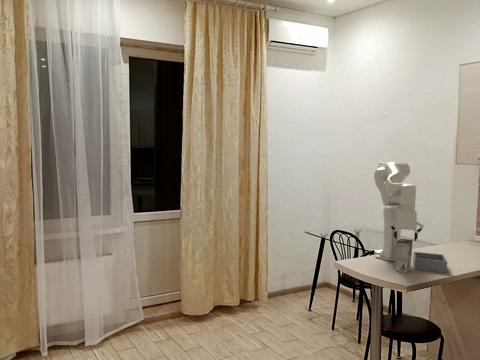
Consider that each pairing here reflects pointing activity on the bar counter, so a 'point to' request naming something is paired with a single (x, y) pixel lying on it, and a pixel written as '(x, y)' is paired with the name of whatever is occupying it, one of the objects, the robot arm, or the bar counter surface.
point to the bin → (429, 262)
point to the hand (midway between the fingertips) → (405, 239)
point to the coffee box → (403, 255)
